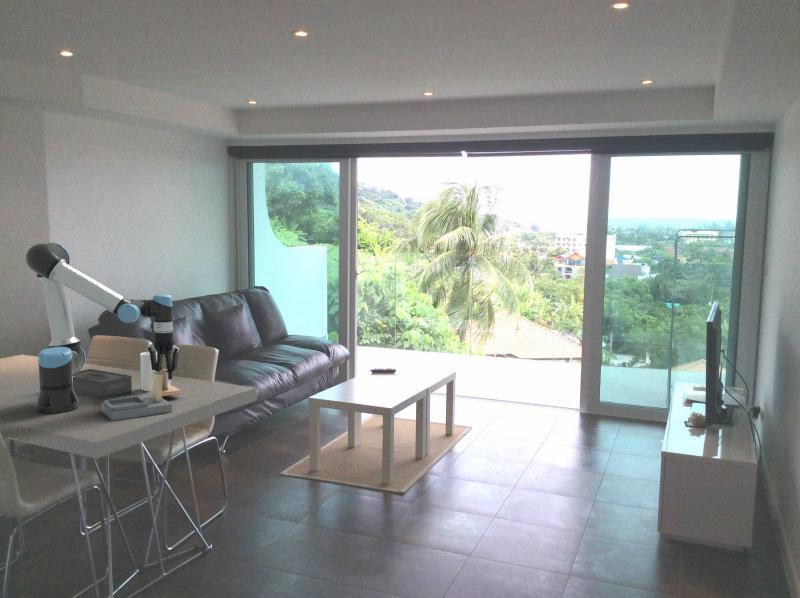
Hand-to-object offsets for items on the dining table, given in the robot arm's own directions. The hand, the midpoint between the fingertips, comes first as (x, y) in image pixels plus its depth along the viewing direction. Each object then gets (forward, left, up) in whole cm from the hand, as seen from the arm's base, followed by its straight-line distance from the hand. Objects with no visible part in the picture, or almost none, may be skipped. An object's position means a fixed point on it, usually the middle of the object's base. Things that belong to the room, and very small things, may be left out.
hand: (164, 386), depth 283 cm
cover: (0, 0, -3) cm, 3 cm away
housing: (-16, -16, -5) cm, 23 cm away
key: (-8, -13, -1) cm, 16 cm away
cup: (0, +19, -5) cm, 20 cm away
